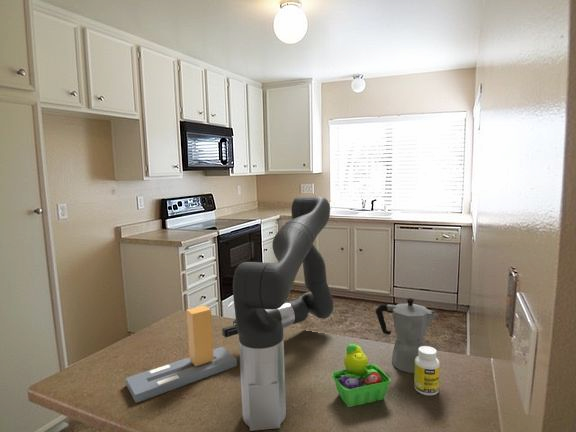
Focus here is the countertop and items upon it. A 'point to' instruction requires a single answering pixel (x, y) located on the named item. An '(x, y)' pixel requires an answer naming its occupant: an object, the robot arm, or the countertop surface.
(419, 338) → the coffeepot
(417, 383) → the supplement bottle
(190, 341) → the slider tab
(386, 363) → the countertop surface
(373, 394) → the fruit basket
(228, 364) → the switch panel
